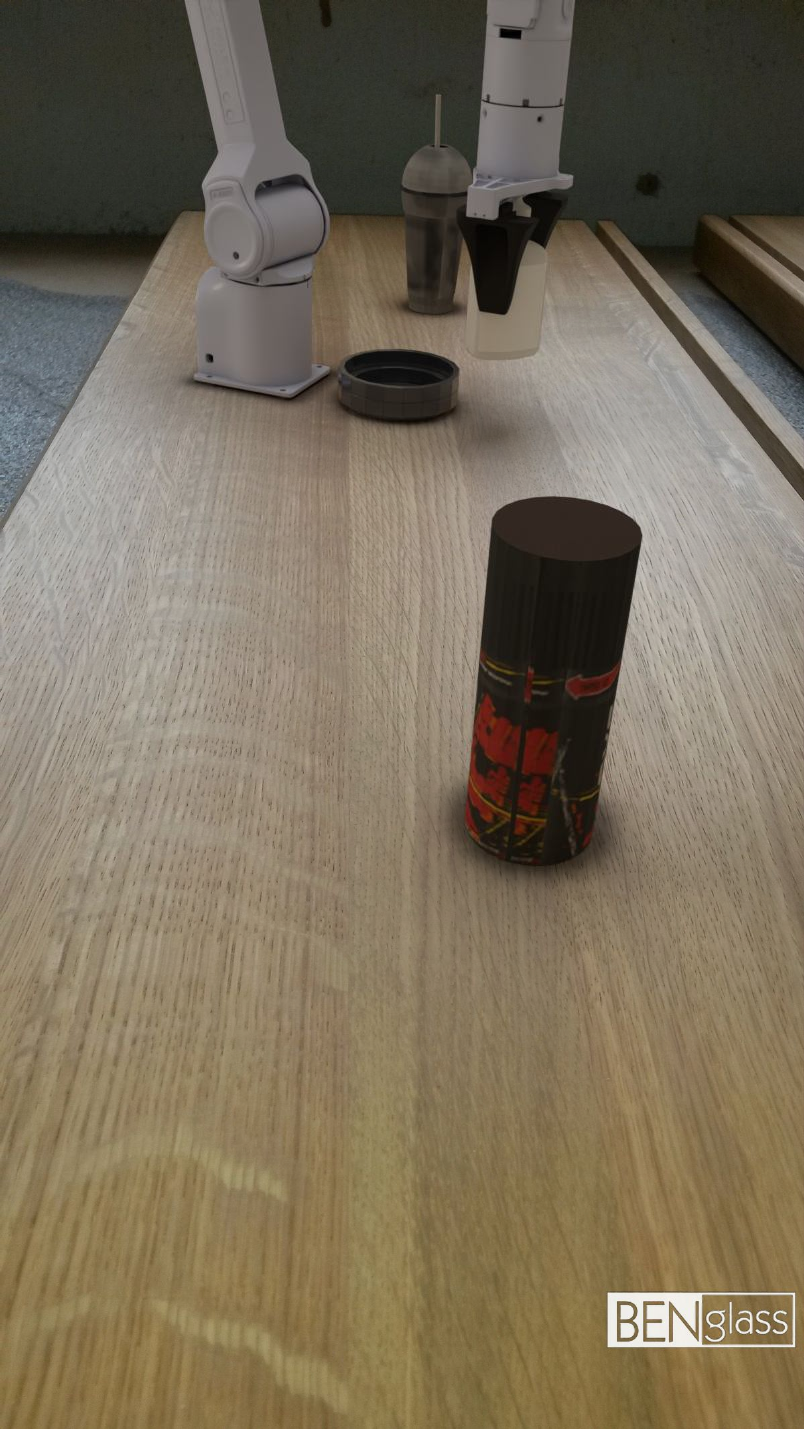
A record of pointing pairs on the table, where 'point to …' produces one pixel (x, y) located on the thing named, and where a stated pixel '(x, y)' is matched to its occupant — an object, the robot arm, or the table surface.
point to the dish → (398, 384)
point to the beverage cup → (433, 222)
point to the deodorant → (548, 674)
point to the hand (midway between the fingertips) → (505, 303)
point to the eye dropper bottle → (511, 309)
